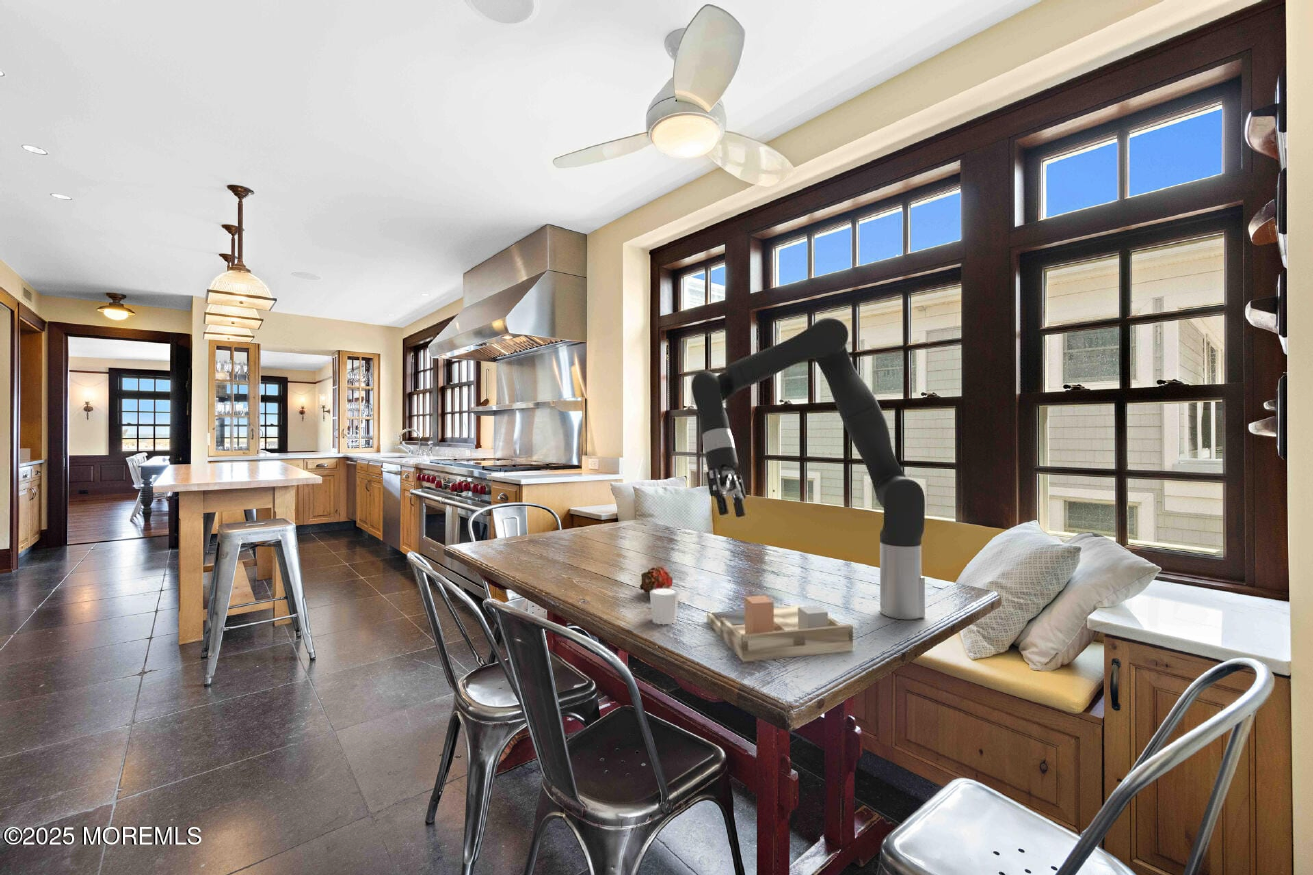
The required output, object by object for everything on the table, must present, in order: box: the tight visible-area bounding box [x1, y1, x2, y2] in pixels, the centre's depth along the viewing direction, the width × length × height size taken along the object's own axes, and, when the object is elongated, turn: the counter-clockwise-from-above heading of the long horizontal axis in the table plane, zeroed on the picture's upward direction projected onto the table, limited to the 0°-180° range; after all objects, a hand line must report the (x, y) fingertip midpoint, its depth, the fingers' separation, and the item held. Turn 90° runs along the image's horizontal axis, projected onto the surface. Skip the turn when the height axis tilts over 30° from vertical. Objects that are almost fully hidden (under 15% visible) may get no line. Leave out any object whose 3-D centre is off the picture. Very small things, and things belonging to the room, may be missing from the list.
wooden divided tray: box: [706, 605, 854, 663], centre depth 126 cm, size 24×24×5 cm
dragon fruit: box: [639, 565, 673, 596], centre depth 158 cm, size 8×8×12 cm
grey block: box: [798, 605, 829, 629], centre depth 122 cm, size 4×4×5 cm
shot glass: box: [649, 587, 680, 626], centre depth 137 cm, size 7×7×7 cm
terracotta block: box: [744, 595, 775, 634], centre depth 119 cm, size 4×4×8 cm
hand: (732, 515), depth 136 cm, fingers open, 8 cm apart
